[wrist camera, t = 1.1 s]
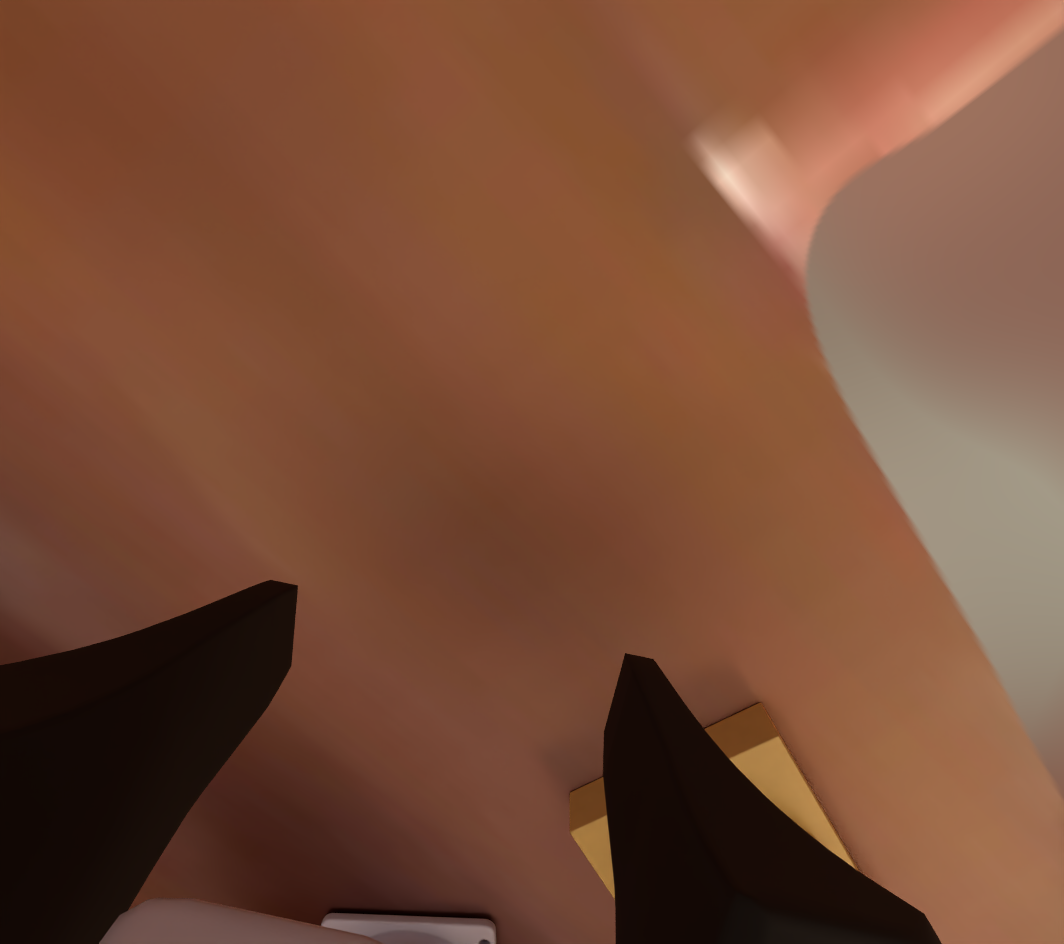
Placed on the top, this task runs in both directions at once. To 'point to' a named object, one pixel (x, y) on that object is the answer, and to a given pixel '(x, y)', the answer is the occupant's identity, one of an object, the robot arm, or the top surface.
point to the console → (754, 755)
